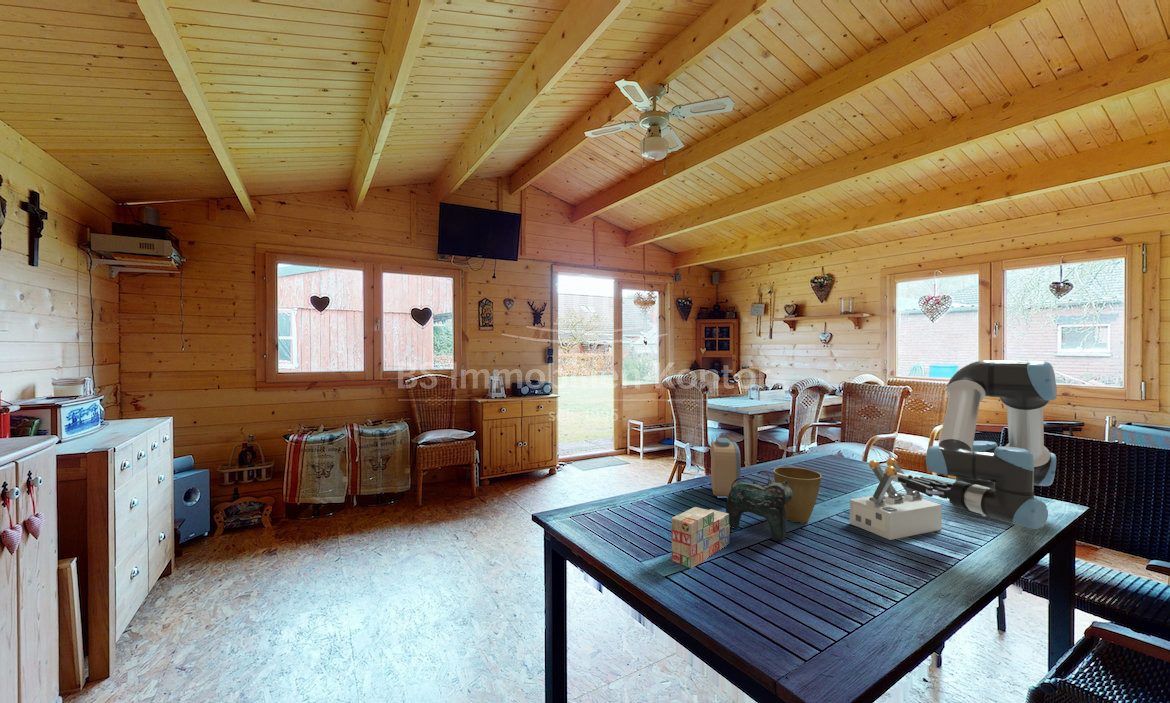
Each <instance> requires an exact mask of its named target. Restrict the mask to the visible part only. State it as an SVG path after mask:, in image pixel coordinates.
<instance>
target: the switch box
mask: <svg viewBox="0 0 1170 703" xmlns="http://www.w3.org/2000/svg"><path fill="white" fill-rule="evenodd" d="M896 492H897V493H899V494H901V496H902V500H899V501H894V499H893V498H890V497H888V494H887V493H885V495H884V497H883V503H880V504H875V502H874V501H871V500H869V498H871V497H873V495H872V496H871V495H870V496H861V497H856V498H851V499H849V524H850V525H852V526H855V527H857V528H859V529H863V530H865V531H867V532H871V533H872V534H874V535H877V536H880V537H882V538H885V539H887V540H890V541H891V540H898V539H902V538H906V537H911V536H912V537H913V536H918V535H922V534H928V533H931V532H936V531H942V530H943V525H942V524H943V522H942V521H943V516H942V515H943V513H942V512H943V505H942V504H941V503H937V502H934V501H932V500H928V499H925V498H923V497H924V493H920V497H918V498H913V496H911V495H908V494H906V493H904V492H900V491H896ZM897 493H896V494H897Z"/></svg>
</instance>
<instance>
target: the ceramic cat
mask: <svg viewBox="0 0 1170 703" xmlns="http://www.w3.org/2000/svg"><path fill="white" fill-rule="evenodd" d="M761 473H765V474H766V475H767V476H768V481H767V483H766V484H762V483H760V482H756V481H755V480H753V479H751V478H748V477H741V478H738V479H736V480H735V481H734V482H733V484H734V483H735V482H736V481H737V480H747V481H746V482H745V481H744V482H741V483H739V484H737V485H736V486H734V487H733V484H732V486H731V490H730V492H729V495H728V498H727V499H726V505H725V513H727V514H729V524H730V526H731V527H734V528H737V529H739V528H740V522H741V518H742V514H744V513H752V514H754V515H756V516H759V517H763V518H764V519H765V520H766V522H767V524H768V525H769V528H770V533H771V535H770V536H771V540H773V539H776V540H775V541H778V540H779V541H778V542H781V541H782V542H784V541H785V540H786V539H787V525H788V524H787V523H788V522H787V519H786V510H785V507H784V505H785V504H787V503H788V502H789V501H791V499H792V490H791V488H790V487H789V485H788V482H787V480H785V481H784V482H783V483H775V481H774V480H773V479H771V478H770V474H769V472H767V471H766V470H760V471H758V473H757V475H759V474H761ZM748 480H749V481H751V482H749V481H748ZM738 527H739V528H738ZM783 540H784V541H783Z"/></svg>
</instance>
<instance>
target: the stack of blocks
mask: <svg viewBox="0 0 1170 703" xmlns="http://www.w3.org/2000/svg"><path fill="white" fill-rule="evenodd" d="M730 530H731V529H730V524H729V514H727V513H726V512H723V511H719V510H716V509H712V508H710V509H705V508H702V507H697V506H694V507H692V508H690V509H687V510H686V511H684V512H681V513H680V514H677V515H675V516H672V517H671V530H670V532H671V533H670V534H671V535H670V536H671V539H670V540H671V562H672V561H673V562H672V563H674V562H675V564H677V563H678V564H677V565H679V564H681V565H680V566H682V565H684V566H683V567H685V566H686V567H685V568H687V567H688V569H690V570H691V569H693V568H694V567H696V566H698V565H700V564H702V563H703V562H705V561H707V560H708V559H709V558H710V557H712V556H713V555H712V554H714V553H715V552H717V551H718V550H720V551H721V549H722V548H723V549H725V548H727V547H728V546H729V545H730V540H731V538H730V532H731V531H730ZM728 544H729V545H728ZM727 545H728V546H727ZM724 547H725V548H724ZM723 549H722V550H723ZM718 552H719V551H718ZM718 552H717V553H718ZM715 554H716V553H715ZM715 554H714V555H715ZM711 555H712V556H711ZM709 556H710V557H709ZM708 557H709V558H708ZM707 558H708V559H707ZM704 560H705V561H704ZM701 562H702V563H701Z"/></svg>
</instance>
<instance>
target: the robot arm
mask: <svg viewBox="0 0 1170 703" xmlns="http://www.w3.org/2000/svg"><path fill="white" fill-rule="evenodd" d="M1054 370H1055V369H1054V367H1053V365H1052V364H1051V363H1050V362H1048V361H1042V360H1034V359H1033V360H1032V359H1031V360H1001V359H1000V360H999V359H997V360H995V359H994V360H989V359H984V360H977V361H974V362H971V363H969V364H967V365H964V366H963V367H962V368H960V369H958V370H957V371H956V372H955V373H954V374H953V376H952V377H951V378H950V379H949V381H948V383H947V387H946V394H947V396H948V402H947V404H946V405H947V406H946V409H945V410H946V411H945V414H944V420H943V423H942V428H941V433H940V436H939V442H938V445H930V446H928V448H927V449H926V455H925V456H926V457H925V459H926V460H925V464H926V468H927V469H928V471H929V472H931V473H935V474H939V475H943V476H952V477H955V481H954V482H951V481H950V482H949V481H945V480H940V479H935V478H930V477H926V476H925V477H924V476H913V475H907V474H906V473H904V474H901V473H898V472H897V475H896V476H894V478H893V479H892V481H891V482H895V483H898V484H899V483H900V484H901V483H902V484H906V487H908V488H910V489H913V490H915V491H918V492H919V493H920V494H923V495H926V496H927V497H930V498H931V497H932V498H933V496H937V497H939V498H942V499H946V500H947V499H948V500H949V501H950V503H951V504H952V506H953V507H955V508H959V509H962V510H966V511H970V512H973V513H977V514H980V515H981V516H982V517H990V518H993V519H997V520H1000V521H1003V522H1006V523H1009V524H1013V525H1014V526H1019V527H1024V528H1027V529H1032V530H1038V529H1041V528H1043V526H1045V524H1046V523H1047V521H1048V517H1049V510H1048V508H1047V507H1048V506H1047V505H1046V503H1045V502H1044V501H1043V500H1041V499H1038V498H1035V493H1034V489H1035V488H1034V487H1035V486H1037V487H1038V486H1041V487H1049V486H1051V485H1053V482H1054V479H1055V477H1056V476H1055V475H1056V469H1057V456H1056V454H1055V453H1053V452H1051V451H1050V450H1049V449H1048V447H1046V446H1045V445H1044V444H1045V439H1044V438H1045V437H1044V435H1045V434H1044V433H1045V432H1044V407H1046V406H1047V405H1048V404H1049V403H1050V401H1055V400H1056V399H1057V395H1058V391H1057V382H1056V381H1057V380H1056V374H1055V371H1054ZM986 397H990V398H991V397H992V398H993V397H994V398H999V400H1000V402H1001V403H1002V404H1004V405H1005V406H1006V419H1007V420H1006V421H1007V433H1008V434H1007V435H1008V436H1007V437H1008V443H1007V444H1005V445H1004V446H998V443H997V442H996V441H989V440H975V436H976V435H975V434H976V428H977V423H978V416H979V409H980V403H981V402H982V401H983V400H985V398H986Z"/></svg>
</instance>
